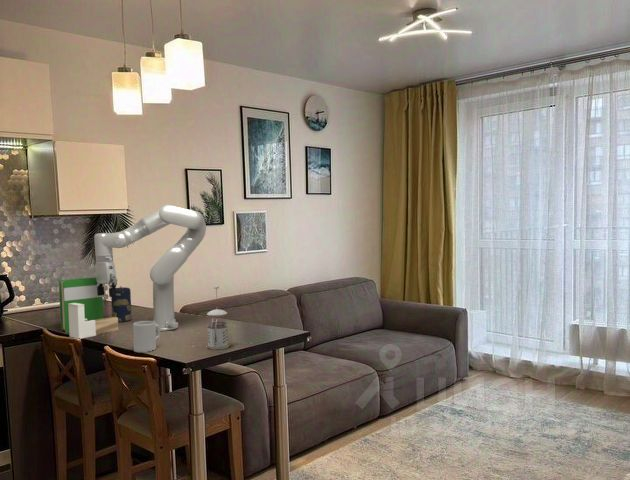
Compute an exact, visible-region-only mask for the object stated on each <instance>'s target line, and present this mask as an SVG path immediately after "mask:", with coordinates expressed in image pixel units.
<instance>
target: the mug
mask: <svg viewBox="0 0 630 480" xmlns="http://www.w3.org/2000/svg"><path fill="white" fill-rule="evenodd" d="M132 328H133V331H132V332H133V352H135V353H141V352H142V353H149V352H148V351H151V352H153V351H152V350H154V351H156V350H157V341H158V340H159V339H160V336H161V331H160V328H159V325H157V324H155V322H154V320H140V321H135V322H133V323H132ZM155 328H156V329H157V331H156V330H155ZM155 349H156V350H155Z"/></svg>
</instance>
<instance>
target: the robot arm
mask: <svg viewBox="0 0 630 480" xmlns="http://www.w3.org/2000/svg"><path fill="white" fill-rule="evenodd" d="M169 225H174V226H178V227H183V228H187V229H186V231H185V233H184V234H183V235H182V236H181V237H180V238H179V240H178V241H177V242H176V243H175V244H173V245H172V246H171V247H169V249H167V250H166V251H165V252H164V254H163V255H162V256H161V257H160V258H159V260H158V261H157V262H156V263H155V264H154V265H153V266H152V267H151V269H150V272H149V278H150V280H151V281H152V304H153V305H152V307H153V308H152V309H153V321H154V322H155V324H157V325H159V328H160V332H165V331H172V330H176V329H178V328H179V321H178V322H177V320H176V318H175V290H174V287H175V286H174V285H175V284H174V283H175V281H174V279H175V274H176V273H177V272H178V271H179V270H180V269H181V268H182V267H183V265H184V264H186V262H187V260H188V258H189V257H190V256H191V254H193V252H194V251H195V250H196V249H197V248H198V246H199V245H200V244H201V243H202V241H203V240H204V237H206V231H207V225H206V220H205V218H204V216H203V214H202V213H201V212H199V211H198V210H197V211H196V210H193V209H188V208H184V207H180V206H176V205H174V204H171V203H170V204H169V203H167V204H164V205H163V206H161V208H159V209H157V210H155V211H153V212H151V213H149V214H147V215H145V216H144V217H142V218H140V219H139V220H138V221H137V222H136V223H134V224H133V225H131V226H129V227H127V228H125V229H124V230H122V231H117V232H100V233H96V234H94V237H93V238H94V250H95V251H94V252H95V254H94V255H95V263H96V264H95V278H94V279H95V283H96V287H97V295H98V296H101V295H103V296H105V287H104V285H108V296H109V298H111V297H114V296H116V288H117V284H118V278H117V274H116V273H117V272H116V266H115V262H114V255H113V254H114V251H113V248H114V249H122V248H125V247H129V246H130V245H133V244H134V243H136V242H137V241H139V240H141V239H143V238H145V237H147V236H150V235H152V234H154V233H155V232H157V231H159V230H161V229H163V228H166V227H167V226H169ZM155 330H156V332H157V329H156V328H155Z"/></svg>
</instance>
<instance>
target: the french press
mask: <svg viewBox="0 0 630 480" xmlns="http://www.w3.org/2000/svg"><path fill="white" fill-rule="evenodd" d="M213 289H215V295H216V296H215V297H216V299H218V289H220V287H219V285H214V287H213ZM225 315H228V312H227V311H225V310H222V309H218V308H215V309H211V310H210V311H208V312H207V313H206V316H209V317H216V321H215V320H214V318H212V319H211V322H208V327H207V344H208V346H210V347H220V346H225V345H227V344H228V342H229V341H228V340H229V339H228V338H229V337H228V326H227V325H226V324H227V321H218V319H219V317H221V316H225Z"/></svg>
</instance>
